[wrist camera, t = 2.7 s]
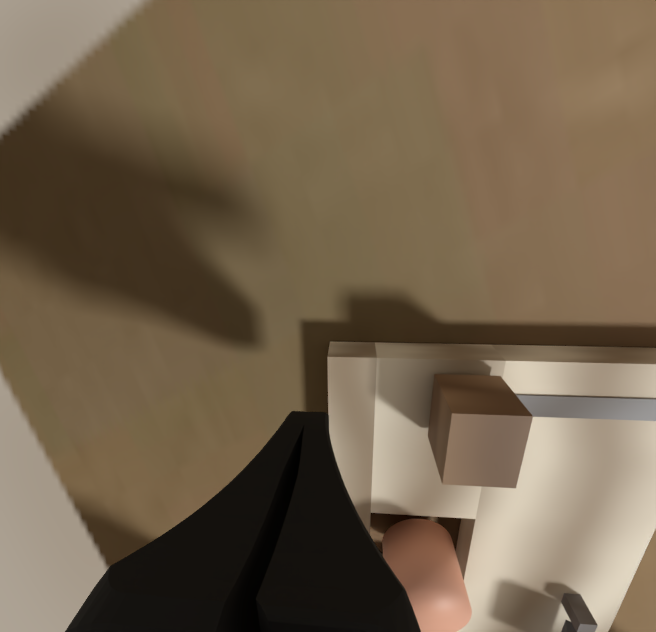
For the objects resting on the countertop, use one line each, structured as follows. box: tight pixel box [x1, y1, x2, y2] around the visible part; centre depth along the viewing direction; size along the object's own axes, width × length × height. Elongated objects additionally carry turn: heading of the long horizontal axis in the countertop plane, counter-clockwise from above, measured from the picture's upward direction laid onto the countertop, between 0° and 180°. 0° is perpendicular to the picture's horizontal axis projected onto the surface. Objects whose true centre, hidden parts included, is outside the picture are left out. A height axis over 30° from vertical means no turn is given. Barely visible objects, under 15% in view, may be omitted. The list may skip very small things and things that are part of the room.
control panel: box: [327, 341, 656, 632], centre depth 16 cm, size 15×19×3 cm
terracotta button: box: [382, 519, 472, 632], centre depth 16 cm, size 4×4×3 cm
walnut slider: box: [428, 374, 533, 488], centre depth 12 cm, size 2×3×2 cm
